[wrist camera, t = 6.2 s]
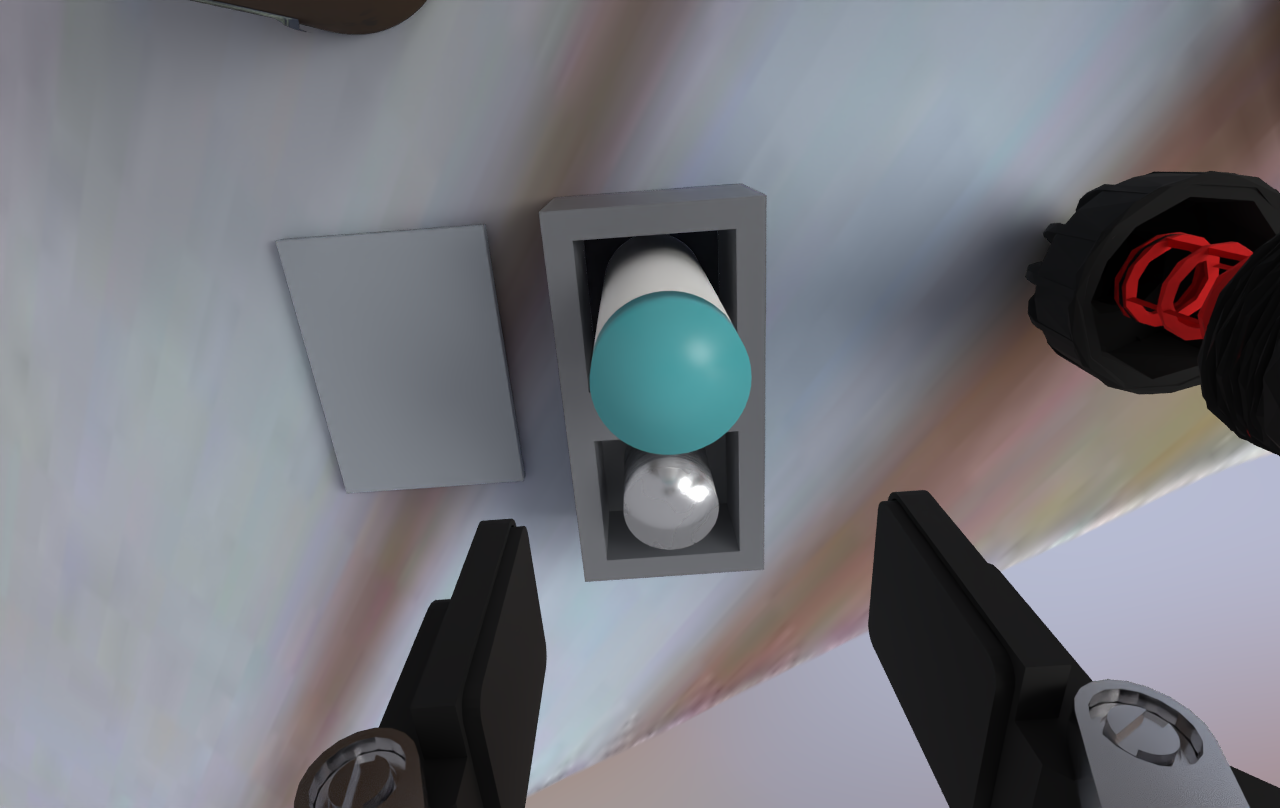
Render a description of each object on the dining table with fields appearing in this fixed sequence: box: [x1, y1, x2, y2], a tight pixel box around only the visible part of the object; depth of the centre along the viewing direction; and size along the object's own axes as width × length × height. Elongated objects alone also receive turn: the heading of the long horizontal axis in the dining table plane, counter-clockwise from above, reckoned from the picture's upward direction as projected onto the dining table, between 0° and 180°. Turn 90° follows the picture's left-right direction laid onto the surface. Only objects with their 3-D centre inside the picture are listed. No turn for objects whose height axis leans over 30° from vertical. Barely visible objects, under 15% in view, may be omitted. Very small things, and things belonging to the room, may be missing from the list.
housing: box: [539, 184, 766, 582], centre depth 32 cm, size 18×9×6 cm, turn 4°
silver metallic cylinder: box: [624, 444, 719, 550], centre depth 32 cm, size 4×4×5 cm
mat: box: [275, 224, 525, 493], centre depth 34 cm, size 14×10×1 cm
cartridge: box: [590, 234, 752, 455], centre depth 27 cm, size 5×5×14 cm
